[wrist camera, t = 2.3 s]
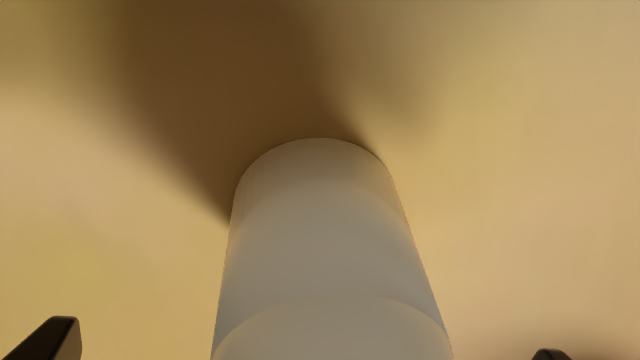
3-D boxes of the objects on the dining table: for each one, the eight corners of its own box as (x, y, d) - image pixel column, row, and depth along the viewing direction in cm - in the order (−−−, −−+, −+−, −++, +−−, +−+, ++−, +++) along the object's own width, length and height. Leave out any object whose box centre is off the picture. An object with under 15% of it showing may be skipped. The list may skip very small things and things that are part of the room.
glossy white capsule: (226, 261, 13) (182, 577, 7) (241, 125, 11) (194, 430, 5) (373, 274, 14) (440, 573, 8) (417, 149, 12) (556, 443, 6)
